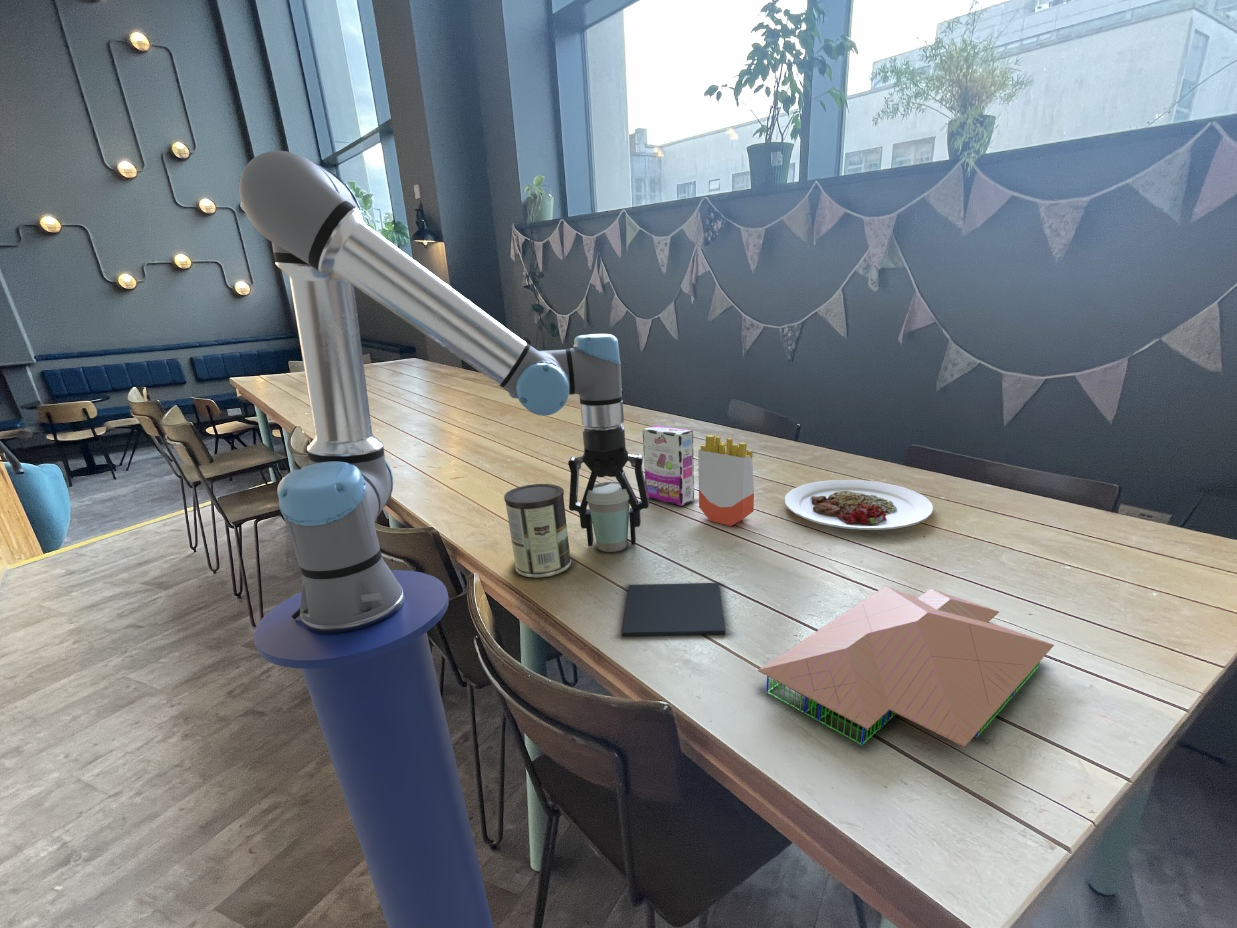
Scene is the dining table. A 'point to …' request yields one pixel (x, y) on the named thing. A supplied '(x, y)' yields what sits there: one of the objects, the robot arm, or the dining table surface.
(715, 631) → the mat
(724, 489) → the french fries container
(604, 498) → the coffee cup
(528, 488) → the coffee can
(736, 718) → the dining table surface
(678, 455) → the candy bar box
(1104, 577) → the dining table surface
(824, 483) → the plated food
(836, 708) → the house
